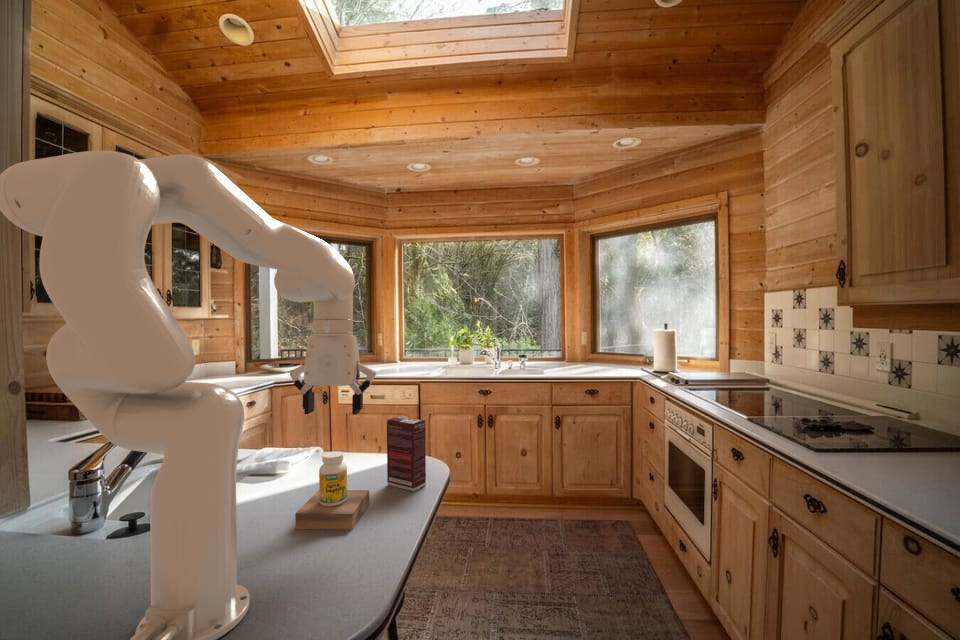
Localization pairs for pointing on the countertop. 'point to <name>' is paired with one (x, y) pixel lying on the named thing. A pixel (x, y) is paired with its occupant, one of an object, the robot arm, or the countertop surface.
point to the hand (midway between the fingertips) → (332, 413)
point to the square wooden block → (332, 512)
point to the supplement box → (406, 453)
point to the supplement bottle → (333, 479)
